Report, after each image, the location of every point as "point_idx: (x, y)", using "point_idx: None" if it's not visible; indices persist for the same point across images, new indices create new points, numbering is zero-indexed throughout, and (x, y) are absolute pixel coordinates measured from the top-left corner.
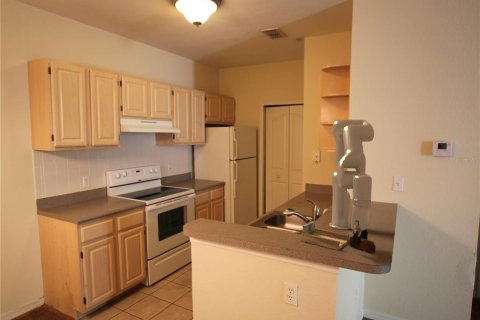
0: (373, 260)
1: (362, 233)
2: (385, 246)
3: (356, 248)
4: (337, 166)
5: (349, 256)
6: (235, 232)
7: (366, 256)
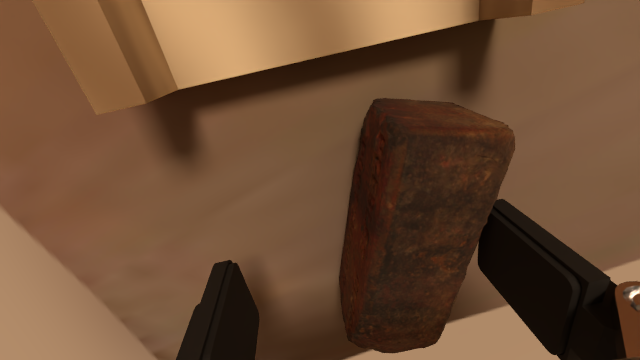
0: None
1: (536, 283)
2: None
3: (352, 184)
4: None
5: (136, 239)
6: None
7: (263, 295)
